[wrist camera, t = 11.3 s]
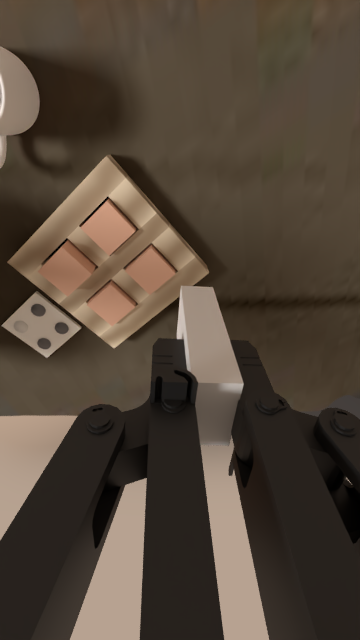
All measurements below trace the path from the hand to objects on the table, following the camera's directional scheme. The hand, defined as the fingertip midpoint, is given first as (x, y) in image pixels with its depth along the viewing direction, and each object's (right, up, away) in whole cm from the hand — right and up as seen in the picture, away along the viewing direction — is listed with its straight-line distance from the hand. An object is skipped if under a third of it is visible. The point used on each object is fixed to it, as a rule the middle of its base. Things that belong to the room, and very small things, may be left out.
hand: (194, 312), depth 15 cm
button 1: (-16, +8, +30) cm, 35 cm away
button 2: (-11, +4, +35) cm, 37 cm away
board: (-11, +9, +32) cm, 35 cm away
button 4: (-5, +8, +32) cm, 34 cm away
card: (-24, -1, +37) cm, 44 cm away
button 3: (-10, +13, +29) cm, 33 cm away
